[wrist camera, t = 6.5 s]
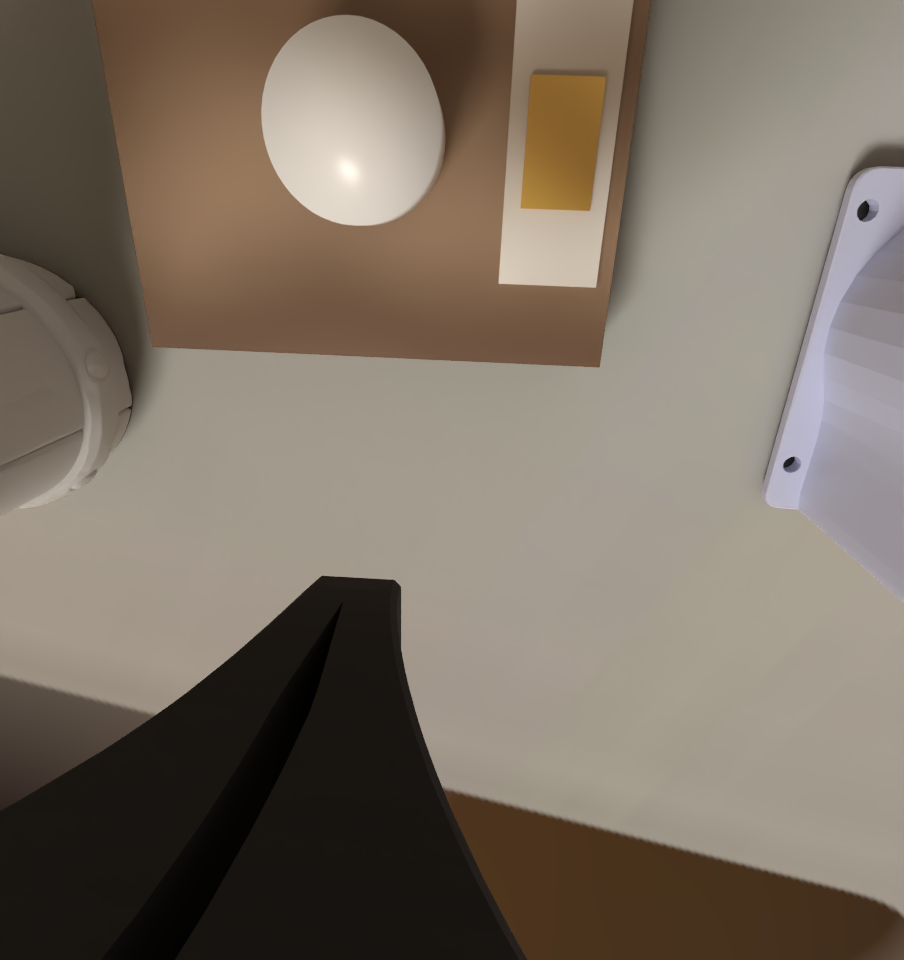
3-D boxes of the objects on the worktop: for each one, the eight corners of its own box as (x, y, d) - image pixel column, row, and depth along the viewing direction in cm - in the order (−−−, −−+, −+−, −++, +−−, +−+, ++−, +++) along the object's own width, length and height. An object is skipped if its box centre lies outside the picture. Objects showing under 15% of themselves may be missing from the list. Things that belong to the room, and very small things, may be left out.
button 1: (443, 228, 14) (438, 228, 12) (292, 222, 14) (269, 222, 12) (448, 42, 12) (443, 17, 11) (279, 38, 12) (252, 11, 11)
